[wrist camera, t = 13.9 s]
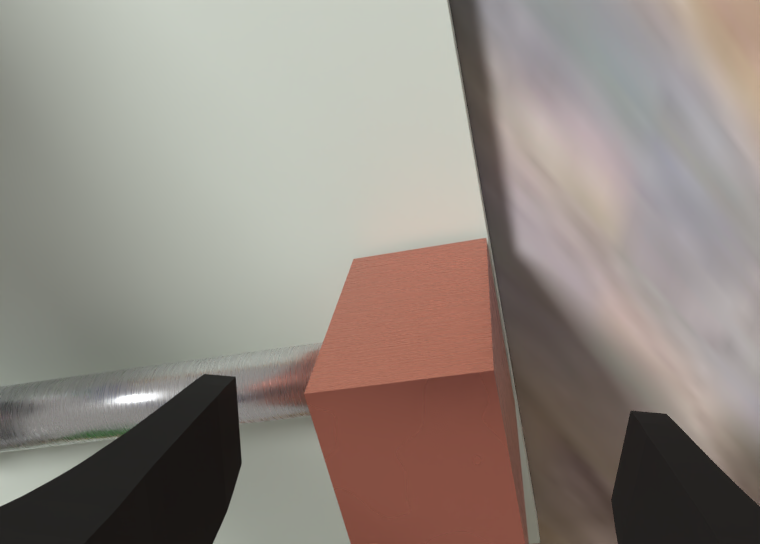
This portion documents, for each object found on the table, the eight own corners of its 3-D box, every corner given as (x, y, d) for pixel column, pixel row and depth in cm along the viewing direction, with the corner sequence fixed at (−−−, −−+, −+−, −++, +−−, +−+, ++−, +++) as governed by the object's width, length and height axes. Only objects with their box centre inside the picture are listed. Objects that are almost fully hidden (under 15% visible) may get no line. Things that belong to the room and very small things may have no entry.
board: (-540, 78, 18) (-593, 85, 17) (416, -192, 13) (412, -202, 12) (-182, 575, 25) (-206, 599, 24) (537, 516, 20) (540, 543, 19)
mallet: (-140, 337, 19) (-349, 474, 14) (486, 237, 15) (493, 369, 11) (-62, 469, 20) (-226, 632, 16) (515, 404, 17) (532, 583, 12)
